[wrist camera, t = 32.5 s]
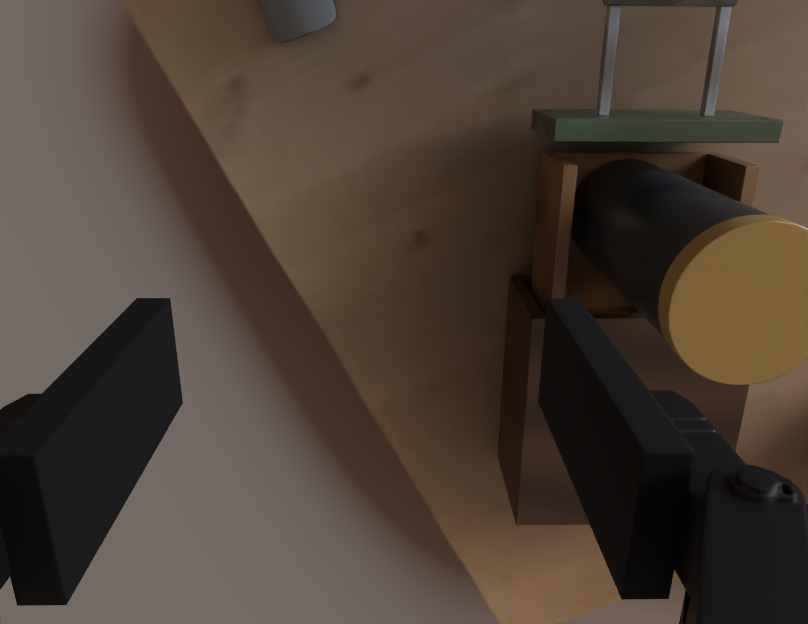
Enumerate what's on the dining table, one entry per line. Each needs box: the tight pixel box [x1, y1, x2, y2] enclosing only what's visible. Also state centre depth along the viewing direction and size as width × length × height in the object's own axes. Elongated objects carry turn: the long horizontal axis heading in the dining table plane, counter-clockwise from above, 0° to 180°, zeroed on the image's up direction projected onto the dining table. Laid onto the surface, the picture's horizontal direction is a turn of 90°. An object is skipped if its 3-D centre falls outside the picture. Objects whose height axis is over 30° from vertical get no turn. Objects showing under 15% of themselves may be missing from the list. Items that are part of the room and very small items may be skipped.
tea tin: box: [571, 159, 808, 385], centre depth 36 cm, size 7×7×17 cm
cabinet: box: [498, 276, 749, 525], centre depth 47 cm, size 15×14×8 cm
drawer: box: [531, 0, 783, 314], centre depth 41 cm, size 21×12×6 cm, turn 0°
